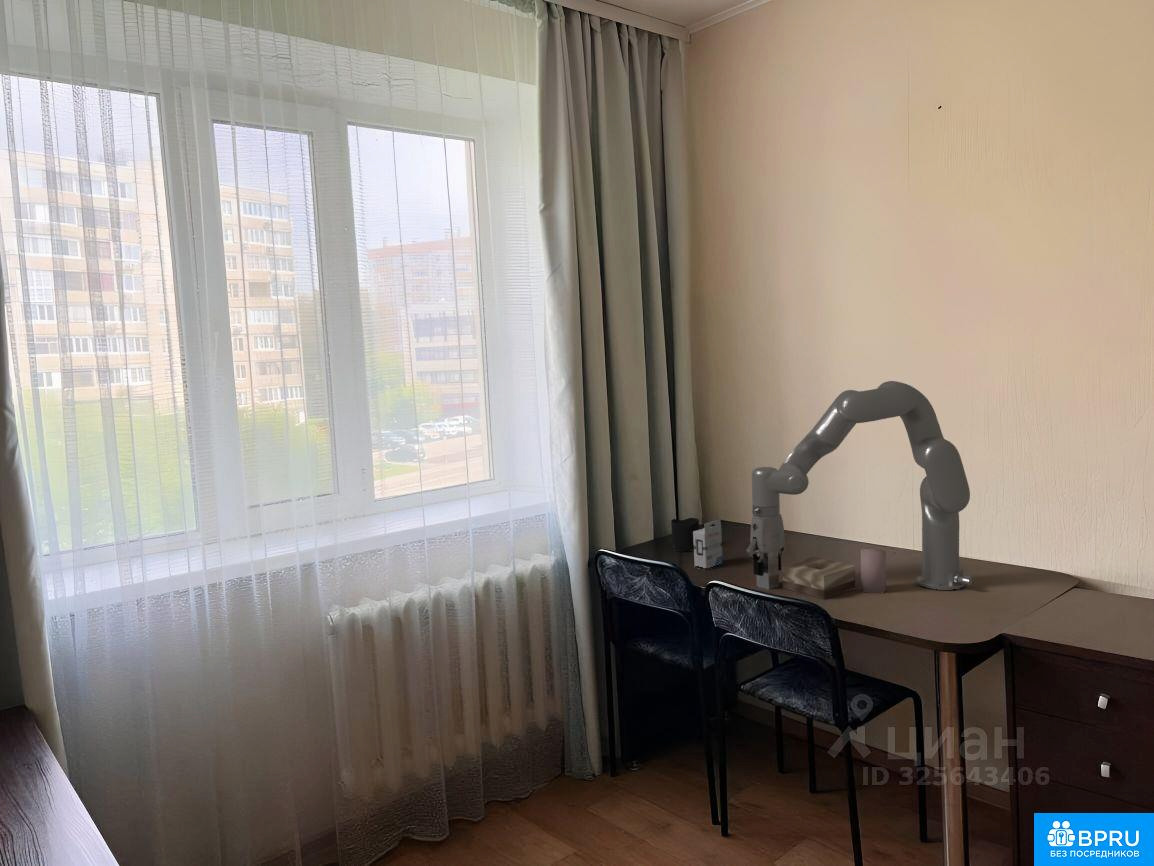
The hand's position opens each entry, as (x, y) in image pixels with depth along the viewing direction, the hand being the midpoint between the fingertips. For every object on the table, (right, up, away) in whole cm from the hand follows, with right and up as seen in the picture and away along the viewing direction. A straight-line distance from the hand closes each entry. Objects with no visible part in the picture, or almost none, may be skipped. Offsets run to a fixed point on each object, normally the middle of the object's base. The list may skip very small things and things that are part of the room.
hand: (767, 571), depth 242 cm
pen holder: (-17, 0, +46) cm, 49 cm away
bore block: (+13, -4, -4) cm, 15 cm away
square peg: (0, -4, 0) cm, 4 cm away
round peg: (+28, -4, -7) cm, 29 cm away
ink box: (-13, -2, +24) cm, 28 cm away
